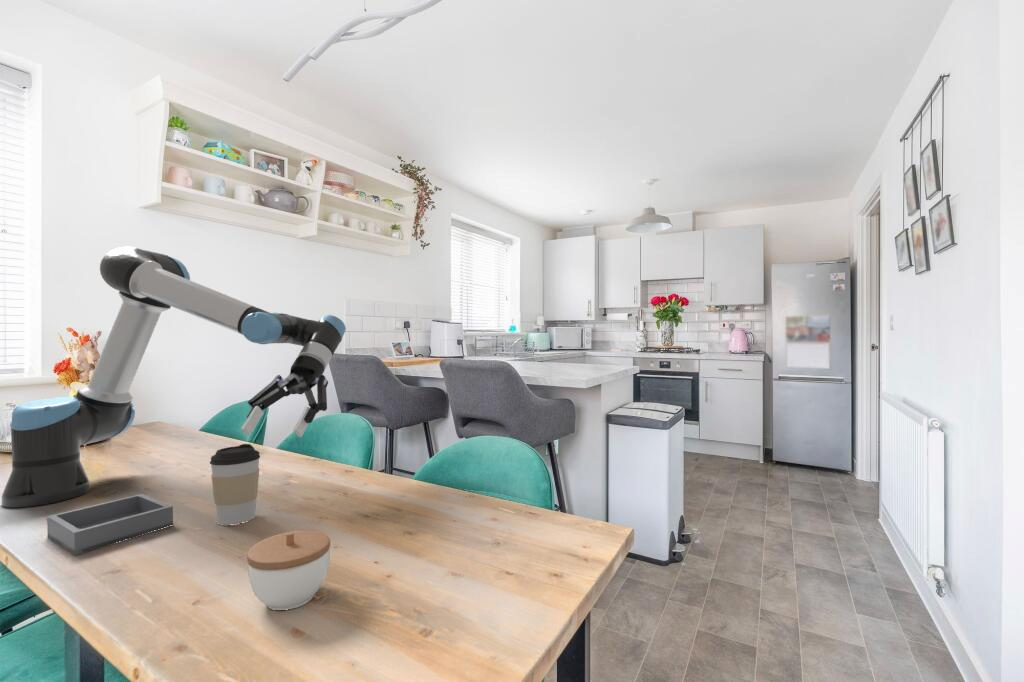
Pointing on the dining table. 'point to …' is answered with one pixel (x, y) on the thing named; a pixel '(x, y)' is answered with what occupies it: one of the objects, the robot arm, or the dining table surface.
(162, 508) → the tray
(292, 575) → the lidded jar
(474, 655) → the dining table surface
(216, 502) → the coffee cup
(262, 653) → the dining table surface
